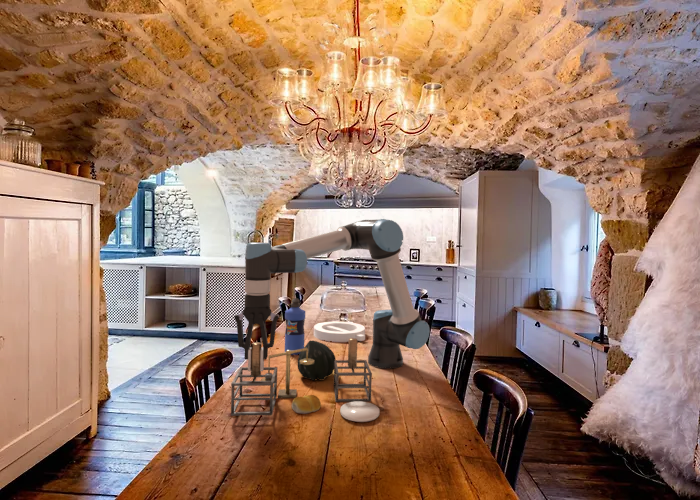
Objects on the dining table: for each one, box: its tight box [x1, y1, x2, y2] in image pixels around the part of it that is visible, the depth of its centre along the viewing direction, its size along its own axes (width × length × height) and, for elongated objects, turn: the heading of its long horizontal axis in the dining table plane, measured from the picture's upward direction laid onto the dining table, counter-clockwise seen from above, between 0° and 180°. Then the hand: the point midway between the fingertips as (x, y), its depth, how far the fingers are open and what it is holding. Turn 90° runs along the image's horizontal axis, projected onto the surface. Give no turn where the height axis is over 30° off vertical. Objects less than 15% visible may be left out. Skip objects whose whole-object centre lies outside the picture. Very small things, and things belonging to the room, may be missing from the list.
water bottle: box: [284, 297, 306, 356], centre depth 180 cm, size 9×9×25 cm
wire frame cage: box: [230, 341, 278, 417], centre depth 119 cm, size 12×14×19 cm
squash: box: [297, 340, 336, 381], centre depth 150 cm, size 14×15×15 cm
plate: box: [339, 401, 380, 423], centre depth 119 cm, size 12×12×2 cm
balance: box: [260, 348, 314, 399], centre depth 132 cm, size 18×5×16 cm, turn 95°
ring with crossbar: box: [313, 321, 366, 343], centre depth 214 cm, size 28×28×5 cm
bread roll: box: [291, 394, 322, 415], centre depth 123 cm, size 8×9×4 cm
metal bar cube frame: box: [333, 338, 373, 403], centre depth 135 cm, size 12×14×19 cm
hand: (255, 369), depth 119 cm, fingers closed on wire frame cage, 3 cm apart
